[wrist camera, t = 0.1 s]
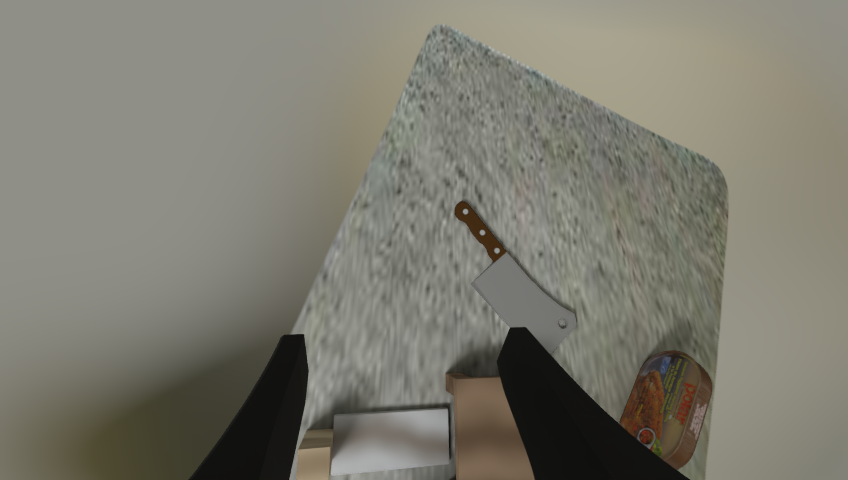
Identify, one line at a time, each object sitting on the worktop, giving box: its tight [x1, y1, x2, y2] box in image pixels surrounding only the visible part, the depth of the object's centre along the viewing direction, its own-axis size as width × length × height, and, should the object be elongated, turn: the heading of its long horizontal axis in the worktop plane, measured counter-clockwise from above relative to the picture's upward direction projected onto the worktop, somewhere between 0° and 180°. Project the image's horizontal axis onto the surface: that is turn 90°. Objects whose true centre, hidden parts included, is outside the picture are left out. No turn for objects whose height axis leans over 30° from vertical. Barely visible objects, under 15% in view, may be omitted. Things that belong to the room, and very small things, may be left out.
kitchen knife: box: [455, 202, 577, 354], centre depth 47 cm, size 24×1×10 cm
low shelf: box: [446, 373, 535, 480], centre depth 40 cm, size 14×11×5 cm
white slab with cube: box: [296, 407, 449, 480], centre depth 37 cm, size 6×16×6 cm, turn 90°
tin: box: [620, 351, 712, 470], centre depth 43 cm, size 15×3×8 cm, turn 146°
